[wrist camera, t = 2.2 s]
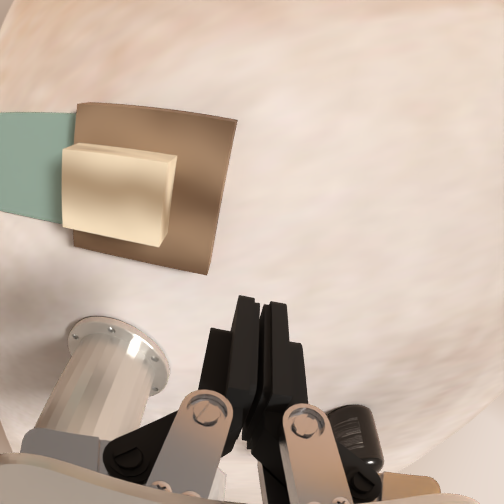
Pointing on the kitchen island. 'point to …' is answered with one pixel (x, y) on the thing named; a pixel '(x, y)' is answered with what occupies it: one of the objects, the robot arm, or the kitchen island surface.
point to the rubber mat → (33, 162)
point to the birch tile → (117, 192)
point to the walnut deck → (185, 180)
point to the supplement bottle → (358, 433)
